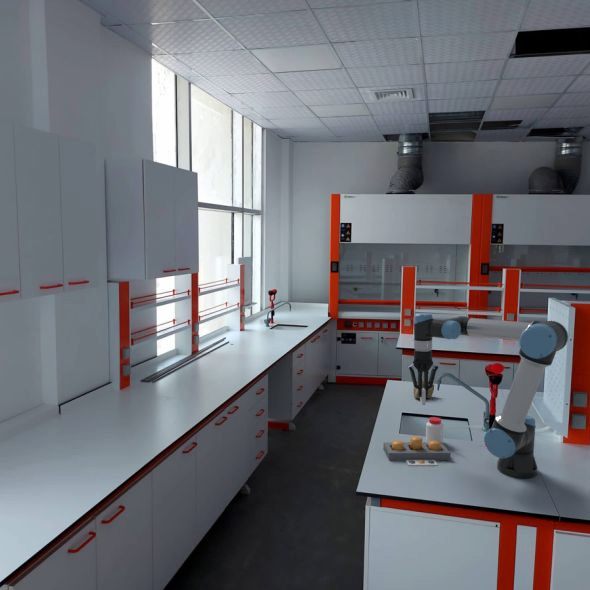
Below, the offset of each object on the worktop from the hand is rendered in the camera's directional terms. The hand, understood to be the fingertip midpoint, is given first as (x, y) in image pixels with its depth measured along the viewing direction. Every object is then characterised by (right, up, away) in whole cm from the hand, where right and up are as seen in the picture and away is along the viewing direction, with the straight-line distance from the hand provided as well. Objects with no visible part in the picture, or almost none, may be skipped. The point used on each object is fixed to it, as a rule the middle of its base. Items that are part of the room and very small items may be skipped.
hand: (422, 404), depth 238 cm
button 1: (-10, -22, +2) cm, 24 cm away
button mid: (-2, -20, +2) cm, 20 cm away
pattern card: (-2, -23, -7) cm, 24 cm away
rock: (+21, -14, +87) cm, 90 cm away
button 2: (+6, -22, +3) cm, 23 cm away
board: (-2, -22, +3) cm, 22 cm away
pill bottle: (+9, -21, +17) cm, 29 cm away
